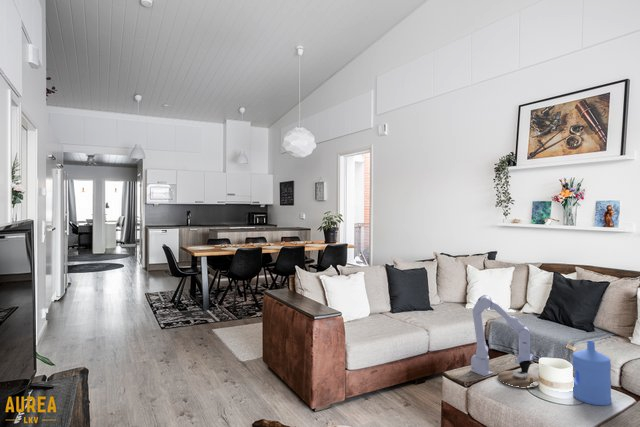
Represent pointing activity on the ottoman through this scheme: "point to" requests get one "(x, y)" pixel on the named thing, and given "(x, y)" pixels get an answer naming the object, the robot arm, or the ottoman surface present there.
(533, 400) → the ottoman surface
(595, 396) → the water jug
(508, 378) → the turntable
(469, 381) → the ottoman surface
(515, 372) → the cover
